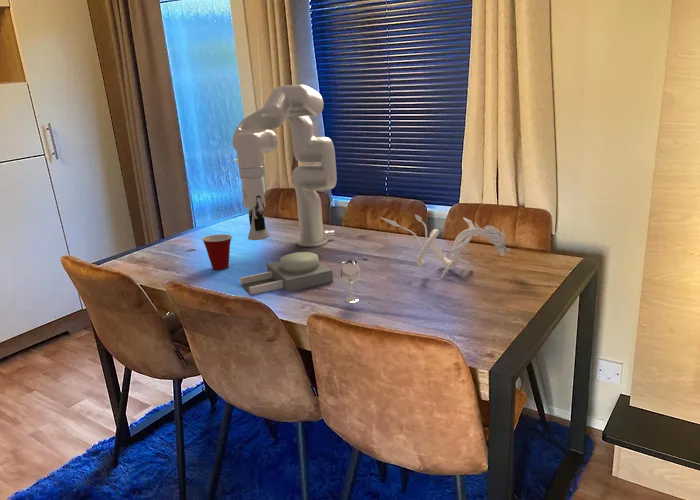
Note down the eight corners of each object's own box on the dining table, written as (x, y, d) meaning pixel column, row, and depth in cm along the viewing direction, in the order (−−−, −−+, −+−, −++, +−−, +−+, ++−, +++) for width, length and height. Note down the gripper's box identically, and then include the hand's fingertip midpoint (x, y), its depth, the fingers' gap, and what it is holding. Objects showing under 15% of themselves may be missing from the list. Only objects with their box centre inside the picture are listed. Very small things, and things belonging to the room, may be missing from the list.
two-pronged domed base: (309, 265, 209) (308, 246, 207) (333, 281, 192) (331, 261, 190) (237, 281, 198) (234, 261, 196) (254, 299, 181) (252, 278, 179)
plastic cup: (241, 263, 216) (237, 232, 213) (226, 273, 207) (222, 241, 203) (216, 262, 220) (211, 231, 216) (200, 271, 210) (195, 240, 207)
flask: (273, 234, 191) (270, 205, 188) (265, 241, 184) (261, 210, 181) (252, 234, 192) (249, 205, 189) (244, 240, 186) (240, 210, 183)
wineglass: (341, 297, 178) (339, 260, 175) (360, 295, 179) (358, 258, 175) (343, 304, 173) (340, 266, 169) (362, 302, 173) (360, 264, 169)
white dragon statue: (367, 272, 195) (370, 205, 182) (390, 244, 211) (394, 181, 198) (494, 307, 179) (507, 237, 166) (509, 275, 195) (522, 208, 182)
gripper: (233, 170, 188) (239, 224, 193) (247, 177, 173) (253, 236, 178) (255, 167, 191) (261, 221, 196) (271, 174, 176) (277, 232, 181)
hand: (257, 227), depth 187 cm, fingers closed on flask, 5 cm apart
